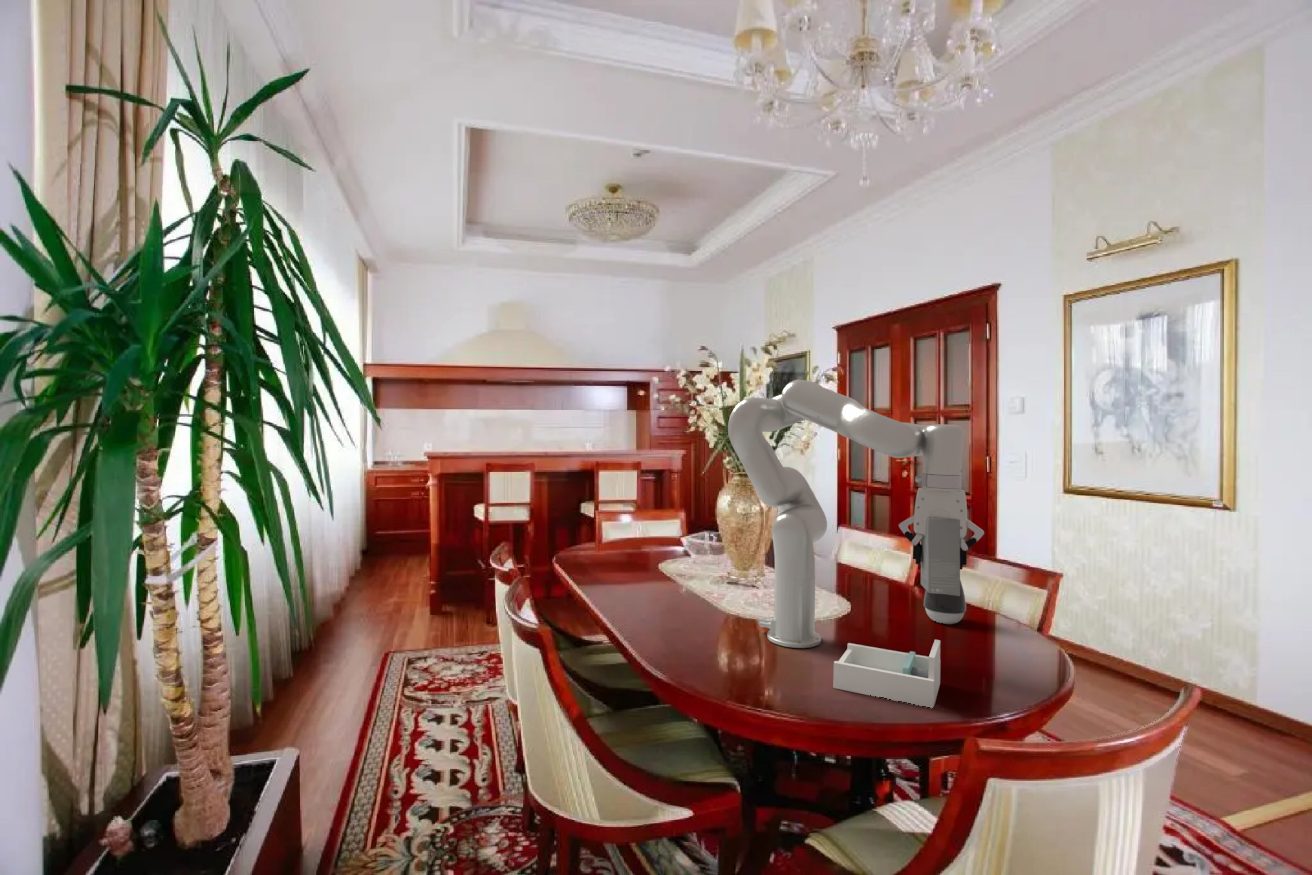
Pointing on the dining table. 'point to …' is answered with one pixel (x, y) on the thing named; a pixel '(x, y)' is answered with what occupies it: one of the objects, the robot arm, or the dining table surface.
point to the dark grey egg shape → (945, 606)
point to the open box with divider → (888, 674)
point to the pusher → (913, 667)
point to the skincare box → (941, 556)
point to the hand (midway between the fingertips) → (939, 565)
